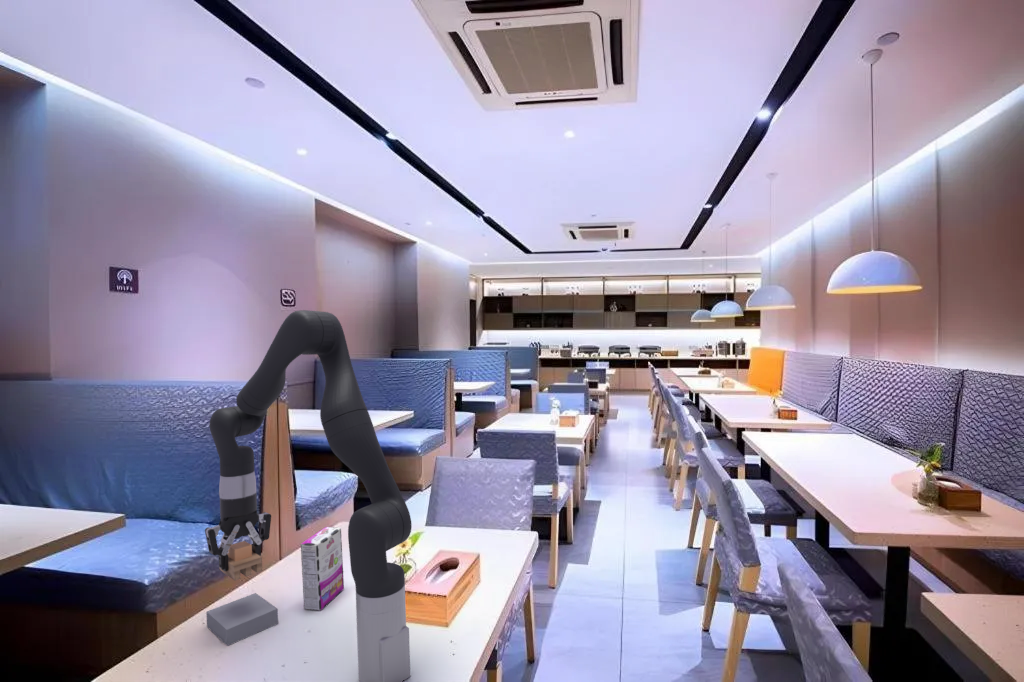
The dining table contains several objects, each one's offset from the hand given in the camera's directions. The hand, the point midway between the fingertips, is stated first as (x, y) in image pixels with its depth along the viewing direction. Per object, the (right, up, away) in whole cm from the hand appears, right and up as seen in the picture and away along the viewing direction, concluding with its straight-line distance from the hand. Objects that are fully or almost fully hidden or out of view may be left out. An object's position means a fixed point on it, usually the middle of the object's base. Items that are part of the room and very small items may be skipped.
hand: (240, 564), depth 120 cm
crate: (0, +2, 0) cm, 2 cm away
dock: (0, -14, 0) cm, 14 cm away
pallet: (0, -1, 0) cm, 1 cm away
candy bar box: (+15, -14, +11) cm, 23 cm away
